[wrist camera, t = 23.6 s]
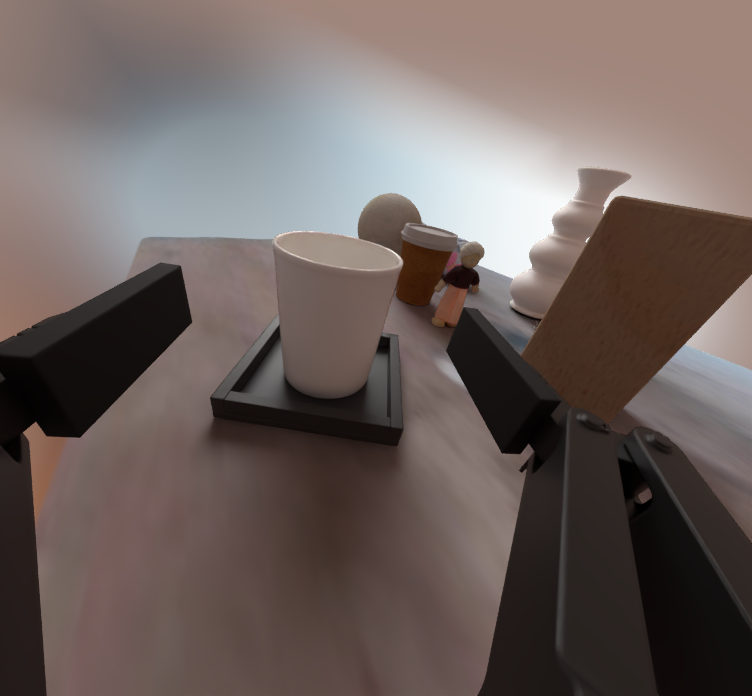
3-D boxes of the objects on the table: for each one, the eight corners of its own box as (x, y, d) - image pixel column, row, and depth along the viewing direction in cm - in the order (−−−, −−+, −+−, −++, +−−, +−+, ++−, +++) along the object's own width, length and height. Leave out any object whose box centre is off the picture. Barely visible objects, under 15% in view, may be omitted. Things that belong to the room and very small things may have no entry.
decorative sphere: (345, 250, 69) (353, 183, 61) (395, 254, 76) (409, 194, 68) (367, 271, 58) (380, 193, 50) (423, 273, 65) (443, 205, 57)
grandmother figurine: (436, 331, 40) (468, 244, 33) (421, 319, 43) (447, 236, 36) (470, 326, 44) (504, 247, 37) (454, 315, 47) (483, 239, 40)
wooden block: (598, 435, 27) (801, 225, 17) (505, 380, 33) (614, 194, 22) (609, 396, 34) (759, 229, 23) (531, 356, 39) (624, 204, 28)
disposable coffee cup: (394, 307, 45) (413, 231, 38) (382, 285, 53) (396, 219, 46) (445, 312, 47) (471, 241, 41) (427, 290, 55) (446, 228, 49)
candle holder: (394, 380, 28) (428, 264, 21) (313, 424, 21) (327, 277, 15) (335, 335, 33) (348, 231, 26) (255, 360, 26) (247, 229, 20)
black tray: (213, 417, 21) (209, 397, 20) (278, 328, 33) (278, 312, 32) (397, 446, 22) (403, 429, 20) (394, 349, 34) (398, 335, 33)
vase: (561, 331, 50) (662, 174, 37) (501, 312, 53) (575, 158, 39) (552, 311, 59) (630, 179, 46) (501, 296, 61) (562, 166, 48)
